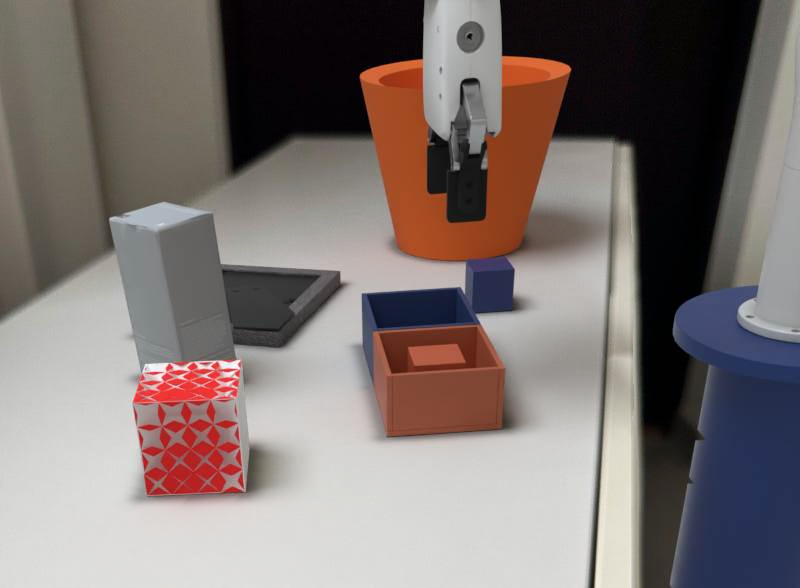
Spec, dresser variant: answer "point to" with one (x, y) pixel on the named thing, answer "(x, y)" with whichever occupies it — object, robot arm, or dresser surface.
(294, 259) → the dresser surface
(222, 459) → the red and white cube
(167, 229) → the cosmetic box
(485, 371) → the rust bin
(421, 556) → the dresser surface
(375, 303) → the navy bin
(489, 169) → the flowerpot
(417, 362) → the rust block
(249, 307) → the picture frame
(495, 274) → the navy block
